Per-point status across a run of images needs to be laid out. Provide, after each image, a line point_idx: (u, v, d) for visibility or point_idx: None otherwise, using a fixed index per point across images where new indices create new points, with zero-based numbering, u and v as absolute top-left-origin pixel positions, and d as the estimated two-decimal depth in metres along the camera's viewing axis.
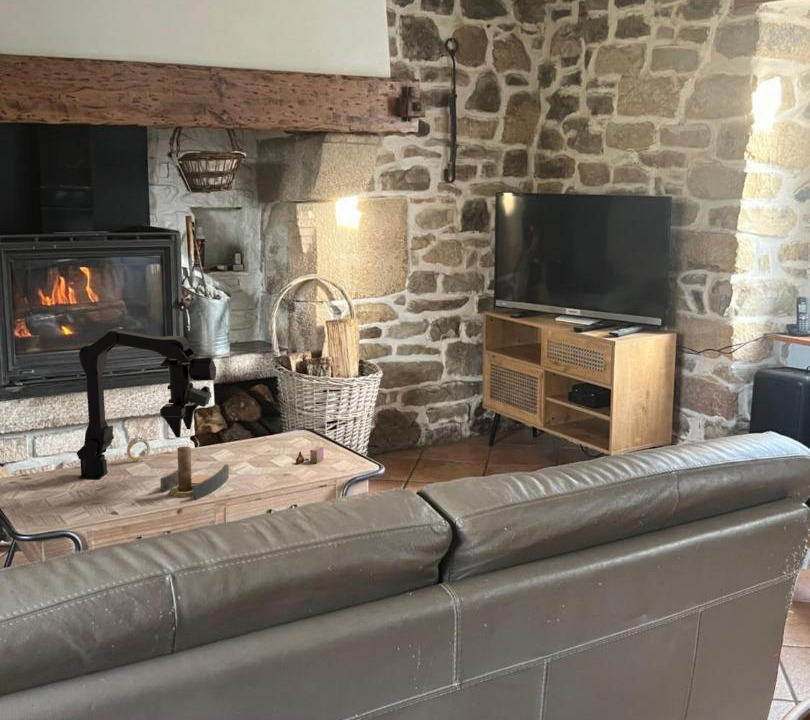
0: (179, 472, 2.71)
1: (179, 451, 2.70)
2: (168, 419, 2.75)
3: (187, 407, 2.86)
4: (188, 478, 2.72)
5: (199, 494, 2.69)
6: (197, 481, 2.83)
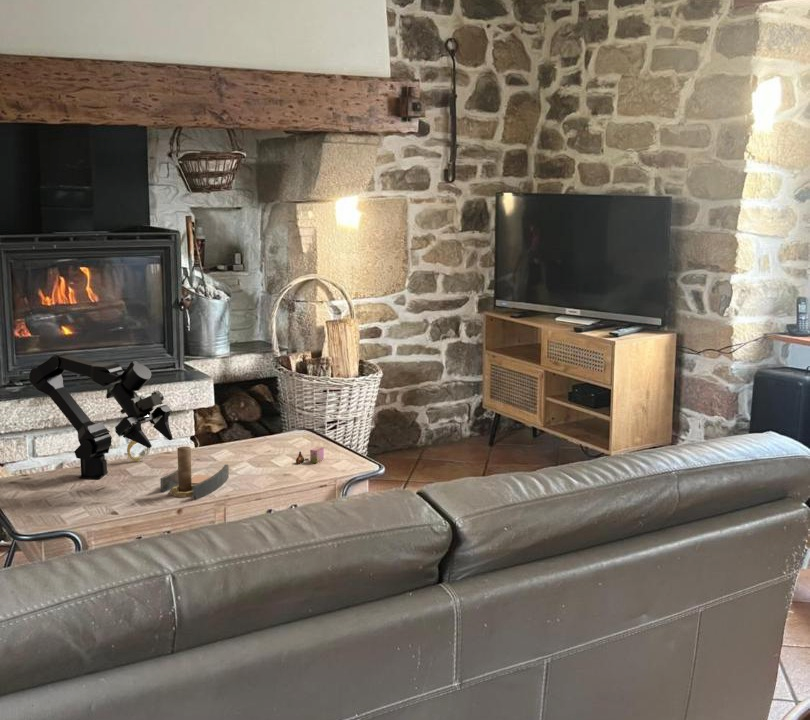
0: (179, 472, 2.71)
1: (179, 451, 2.70)
2: (130, 436, 2.70)
3: (159, 421, 2.80)
4: (188, 478, 2.72)
5: (199, 494, 2.69)
6: (197, 481, 2.83)
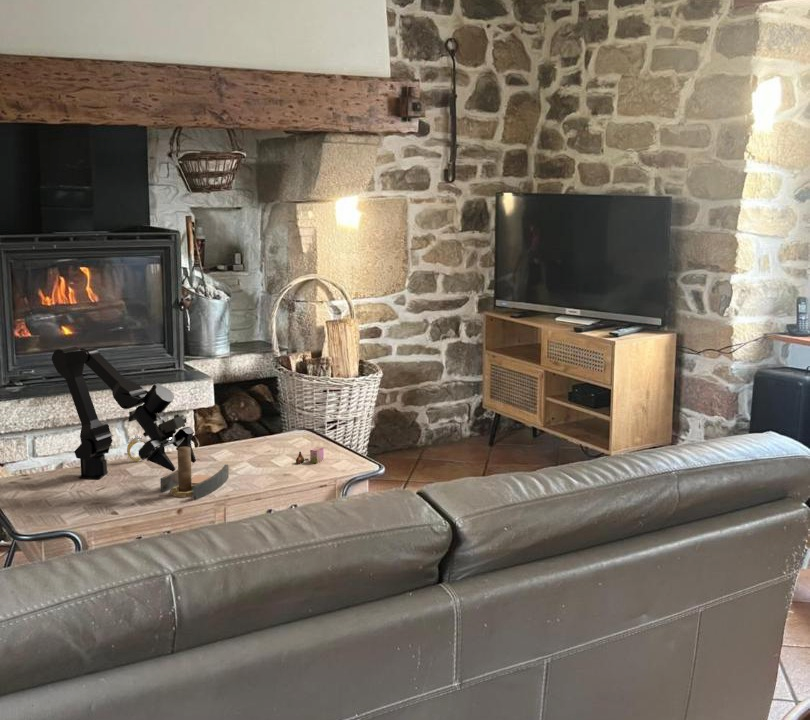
0: (179, 472, 2.71)
1: (179, 451, 2.70)
2: (154, 459, 2.68)
3: (182, 444, 2.78)
4: (188, 478, 2.72)
5: (199, 494, 2.69)
6: (197, 481, 2.83)
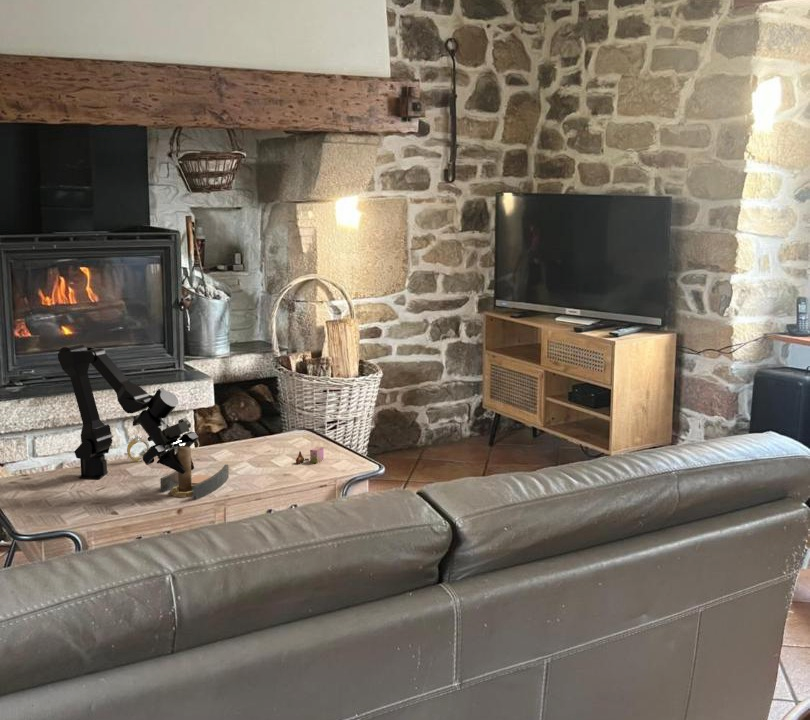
0: (179, 472, 2.71)
1: (179, 451, 2.70)
2: (164, 462, 2.70)
3: None
4: (188, 478, 2.72)
5: (199, 494, 2.69)
6: (197, 481, 2.83)
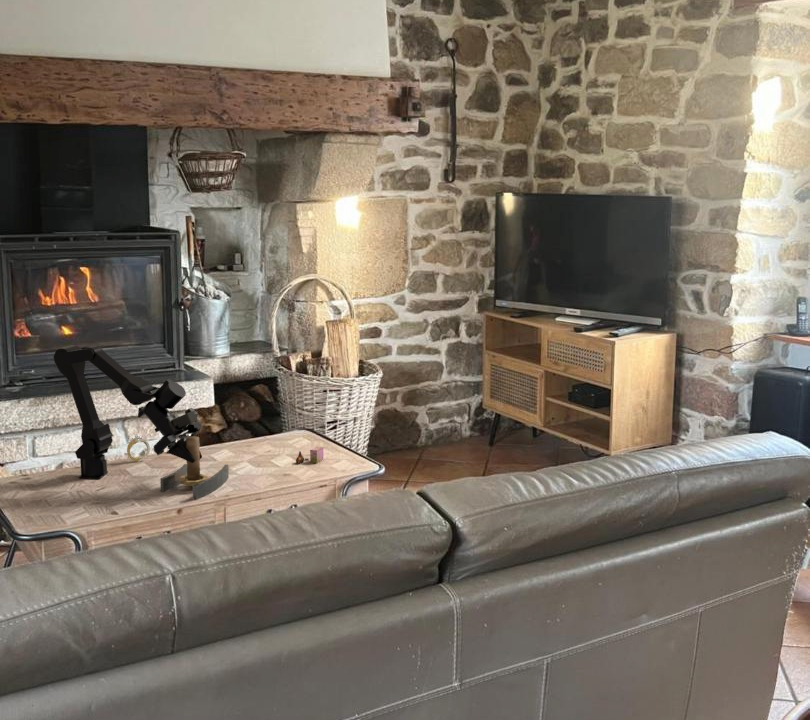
0: (188, 461, 2.75)
1: (188, 441, 2.74)
2: (173, 452, 2.73)
3: None
4: (197, 467, 2.76)
5: (199, 494, 2.69)
6: None
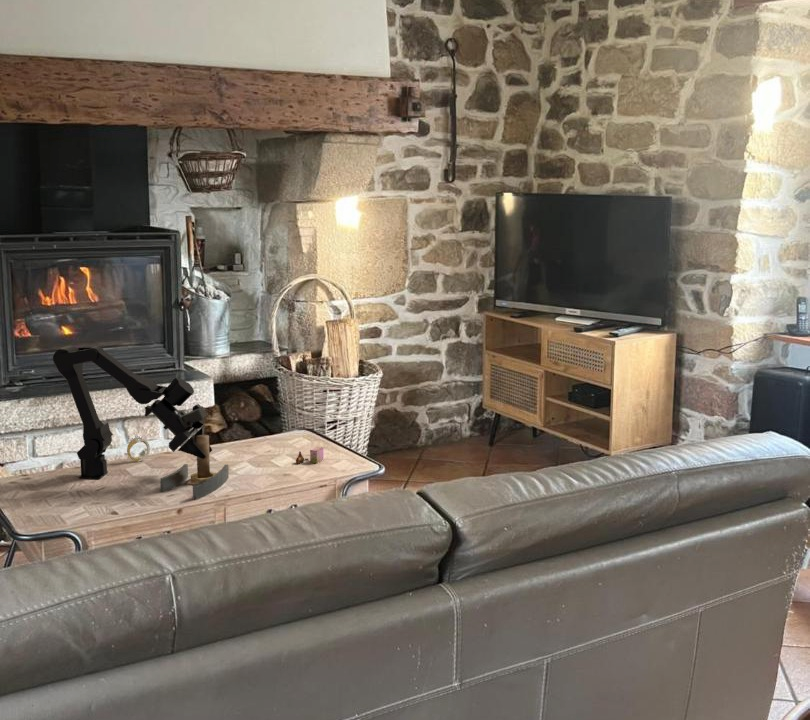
0: (199, 459, 2.82)
1: (200, 439, 2.81)
2: (184, 449, 2.78)
3: (196, 435, 2.86)
4: (208, 464, 2.83)
5: (199, 494, 2.69)
6: None
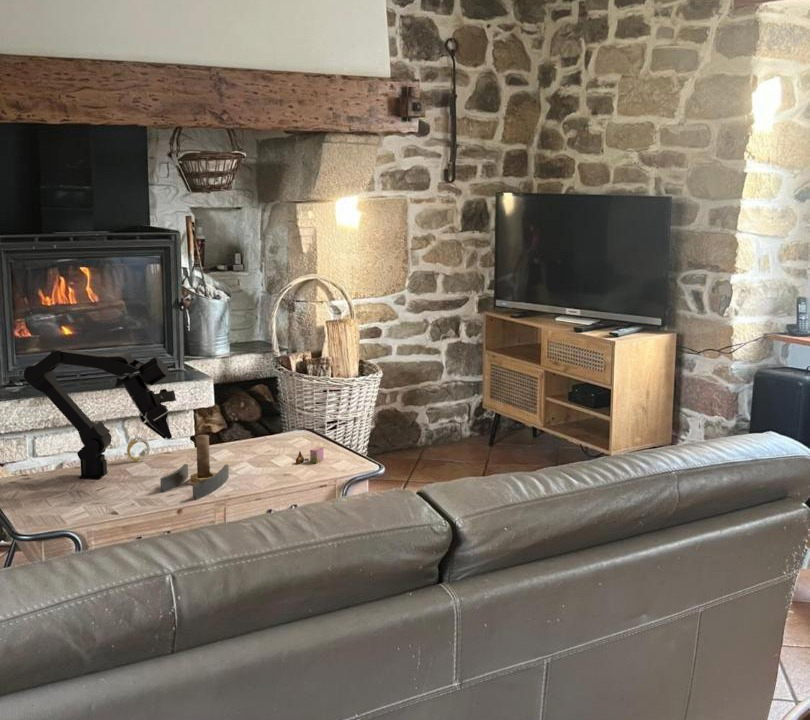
0: (199, 459, 2.82)
1: (200, 439, 2.81)
2: (155, 424, 2.77)
3: (153, 419, 2.88)
4: (208, 464, 2.83)
5: (199, 494, 2.69)
6: None
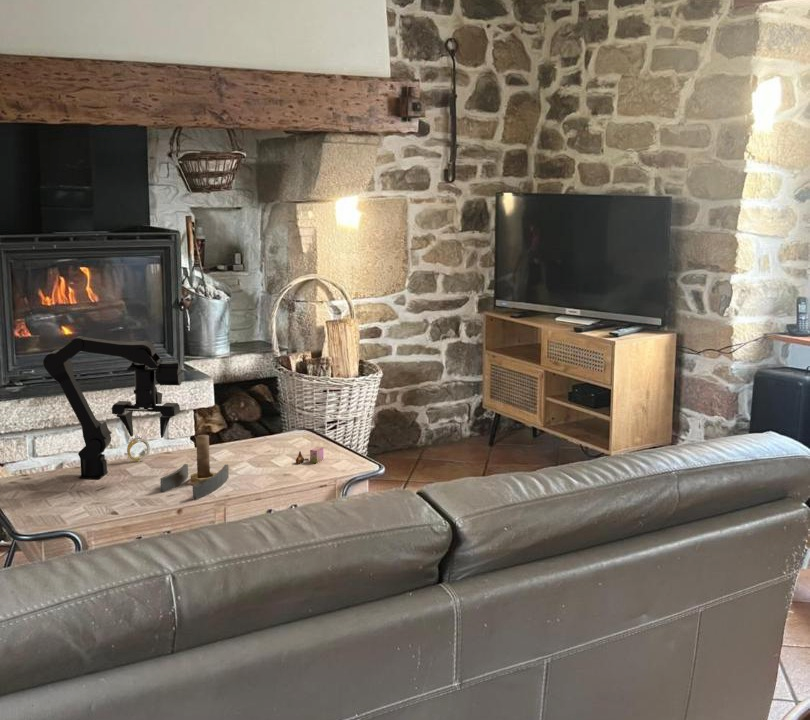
0: (199, 459, 2.82)
1: (200, 439, 2.81)
2: (165, 420, 2.83)
3: (129, 415, 2.85)
4: (208, 464, 2.83)
5: (199, 494, 2.69)
6: None
